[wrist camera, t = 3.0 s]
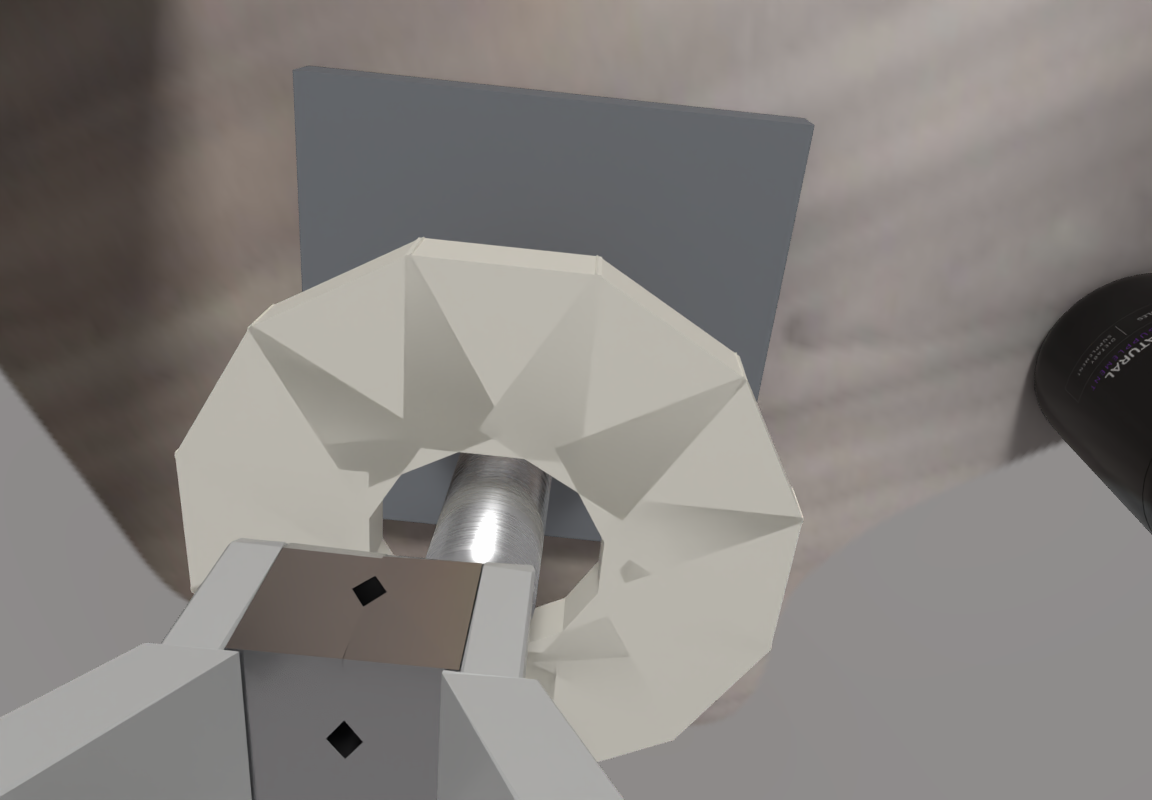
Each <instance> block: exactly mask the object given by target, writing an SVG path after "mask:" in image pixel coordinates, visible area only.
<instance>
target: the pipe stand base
mask: <svg viewBox="0 0 1152 800" xmlns="http://www.w3.org/2000/svg"><path fill="white" fill-rule="evenodd" d="M293 87H294V110H295V134H296V157H297V180H298V204H299V227H300V250H301V274H302V292H303V291H306V290H308V289H310V288H312V287H314V286H317V285H319V284H321V283H323V282H325V281H328V280H330V279H332V278H334V277H336V276H339V275H341V274H343V273H345V272H347V271H350V270H352V269H354V268H356V267H358V266H360V265H363V264H365V263H367V262H369V261H371V260H374V259H376V258H378V257H380V256H382V255H385V254H387V253H389V252H391V251H393V250H396V249H398V248H400V247H402V246H404V245H406V244H409V243H411V242H413V241H415V240H417V239H418V237H420V238H422V237H425V238H429V239H439V240H448V241H458V242H467V243H477V244H486V245H496V246H505V247H515V248H524V249H534V250H543V251H553V252H562V253H572V254H581V255H591V256H596V255H598V256H600V257H602V259H604V260H605V261H606V262H608V263H609V264H611V265H612V266H613V267H615V268H616V269H618V270H619V271H620V272H622V273H623V274H625V275H626V276H628V277H629V278H630V279H632V280H633V281H635V282H636V283H637V284H639V285H640V286H642V287H643V288H644V289H646V290H647V291H649V292H650V293H651V294H653V295H654V296H656V297H657V298H658V299H660V300H661V301H663V302H664V303H665V304H667V305H668V306H670V307H671V308H672V309H674V310H675V311H677V312H678V313H680V314H681V315H682V316H684V317H685V318H687V319H688V320H689V321H691V322H692V323H694V324H695V325H696V326H698V327H699V328H701V329H702V330H703V331H705V332H706V333H708V334H709V335H710V336H712V337H713V338H715V339H716V340H717V341H719V342H720V343H722V344H723V345H724V346H726V347H727V348H729V349H730V350H732V351H733V352H734V353H737V355H739V356H740V359H741V362H742V365H743V368H744V371H745V374H746V377H747V380H748V382H749V385H750V387H751V389H752V392H753V394H754V397H755V399H756V402H757V399H758V395H759V390H760V385H761V380H762V375H763V371H764V366H765V361H766V356H767V351H768V347H769V342H770V337H771V332H772V327H773V323H774V318H775V313H776V308H777V303H778V299H779V294H780V289H781V284H782V279H783V274H784V270H785V265H786V260H787V255H788V250H789V246H790V241H791V236H792V231H793V226H794V222H795V217H796V212H797V207H798V202H799V198H800V193H801V188H802V183H803V178H804V173H805V169H806V164H807V159H808V154H809V149H810V145H811V140H812V135H813V130H814V125H813V124H812V123H810V122H809V121H808V120H806V119H805V118H795V117H786V116H777V115H767V114H758V113H748V112H739V111H730V110H720V109H711V108H701V107H692V106H683V105H673V104H664V103H654V102H645V101H636V100H626V99H617V98H607V97H598V96H589V95H579V94H570V93H560V92H551V91H541V90H532V89H523V88H513V87H504V86H494V85H485V84H476V83H466V82H457V81H447V80H438V79H429V78H419V77H410V76H400V75H391V74H382V73H372V72H363V71H353V70H344V69H335V68H325V67H316V66H306V67H302V68H298V69H294V70H293ZM459 455H460V452H457V453H455V454H452V455H450V456H447V457H445V458H442V459H440V460H437V461H434V462H432V463H429V464H427V465H424V466H422V467H419V468H417V469H414V470H411V471H409V472H406V473H404V474H401V475H400V477H399V478H398V480H397V481H396V482H395V484H394V485H393V486H392V488H391V489H390V491H389V492H388V493H387V495H386V496H385V497H384V499H383V519H390V520H399V521H409V522H419V523H428V524H437V522H438V519H439V516H440V513H441V510H442V507H443V504H444V501H445V498H446V495H447V492H448V489H449V486H450V483H451V480H452V477H453V474H454V471H455V468H456V465H457V461H458V458H459ZM544 536H553V537H563V538H573V539H582V540H592V541H601V539H602V537H601V535H600V533H599V532H598V530H597V528H596V526H595V524H594V522H593V520H592V518H591V516H590V514H589V513H588V511H587V509H586V507H585V505H584V503H583V501H582V499H581V497H580V495H579V493H577V492H576V491H574V490H573V489H571V488H570V487H568V486H566V485H565V484H563V483H562V482H560V481H559V480H557V479H555V478H554V477H552V479H551V487H550V495H549V503H548V510H547V518H546V526H545V534H544Z"/></svg>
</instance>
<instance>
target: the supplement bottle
mask: <svg viewBox="0 0 1152 800" xmlns="http://www.w3.org/2000/svg"><path fill="white" fill-rule="evenodd" d="M1034 383H1035V392H1036V397H1037V400H1038V403H1039V406H1040V408H1041V411H1042V413H1043V414H1044V416H1045V417H1046V419H1047V420H1048V422H1049V423H1050V424H1051V425H1052V427H1053V428H1054V429H1055V430H1056V431H1057V432H1058V434H1059V435H1060V436H1061V437H1062V438H1063V439H1064V440H1065V442H1066V443H1067V444H1068V445H1069V446H1070V447H1071V448H1072V449H1073V450H1074V451H1075V452H1076V453H1077V454H1078V455H1079V457H1080V458H1081V459H1082V460H1083V461H1084V462H1085V463H1086V464H1087V465H1088V466H1089V467H1090V468H1091V469H1092V471H1093V472H1094V473H1095V474H1096V475H1097V476H1098V477H1099V478H1100V479H1101V480H1102V481H1103V482H1104V483H1105V484H1106V486H1108V488H1109V489H1110V490H1111V491H1112V492H1113V493H1114V494H1115V495H1116V496H1117V497H1118V498H1119V500H1120V501H1121V502H1122V503H1123V504H1124V505H1125V506H1126V507H1127V508H1128V509H1129V510H1130V511H1131V512H1132V514H1133V515H1135V517H1136V518H1137V519H1138V520H1139V521H1140V522H1141V523H1142V524H1143V525H1144V527H1145V528H1146V529H1147V530H1148V531H1149V532H1150V533H1151V534H1152V273H1146V274H1139V275H1134V276H1130V277H1126V278H1123V279H1120V280H1116V281H1114V282H1111V283H1109V284H1106V285H1104V286H1102V287H1100V288H1098V289H1096V290H1095V291H1093V292H1091V293H1090V294H1088V295H1086V296H1085V297H1083V298H1082V299H1081V300H1079V301H1078V302H1077V303H1076V304H1074V305H1073V306H1072V307H1071V308H1070V309H1069V310H1068V311H1067V312H1065V313H1064V314H1063V316H1062V317H1061V318H1060V319H1059V320H1058V321H1057V322H1056V324H1055V325H1054V326H1053V328H1052V329H1051V331H1050V332H1049V334H1048V335H1047V337H1046V339H1045V341H1044V343H1043V345H1042V347H1041V350H1040V352H1039V355H1038V359H1037V362H1036V368H1035V377H1034Z"/></svg>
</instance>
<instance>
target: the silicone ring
mask: <svg viewBox="0 0 1152 800" xmlns="http://www.w3.org/2000/svg"><path fill="white" fill-rule="evenodd" d="M247 329H248V331H247V332H246V334H245V336H244V337H243V339H242V341H241V343H240V344H239V346H238V348H237V349H236V351H235V353H234V355H233V356H232V358H231V360H230V361H229V363H228V365H227V367H226V368H225V370H224V372H223V373H222V375H221V377H220V379H219V380H218V382H217V384H216V386H215V387H214V389H213V391H212V392H211V394H210V396H209V398H208V399H207V401H206V403H205V404H204V406H203V408H202V410H201V411H200V413H199V415H198V416H197V418H196V420H195V422H194V423H193V425H192V427H191V428H190V430H189V432H188V434H187V435H186V437H185V439H184V440H183V442H182V444H181V446H180V447H179V448H178V449H177V451H176V452H175V456H174V457H175V458H176V466H177V474H178V483H179V491H180V499H181V508H182V516H183V524H184V533H185V541H186V549H187V558H188V566H189V574H190V583H191V588H190V589H191V591H192V593H194V594H195V593H196V591H197V590H198V588H199V587H200V585H201V584H202V582H203V581H204V580H205V578H206V577H207V575H208V574H209V572H210V571H211V569H212V568H213V566H214V565H215V563H216V562H217V561H218V559H219V558H220V556H221V555H222V553H223V552H224V550H225V549H226V547H227V546H228V545H229V544H230V543H231V542H232V541H235V540H237V539H239V538H249V539H259V540H269V541H279V542H285V543H288V544H289V543H298V544H307V545H315V546H324V547H332V548H341V549H349V550H358V551H366V552H375V553H383V554H388V555H393V553H392V552H391V550H390V548H389V547H388V545H387V544H386V542H385V541H384V539H383V499H384V497H385V496H386V495H387V493H388V492H389V491H390V489H391V488H392V486H393V485H394V484H395V482H396V481H397V480H398V478H399V477H400V475H401V474H404V473H406V472H409V471H411V470H414V469H417V468H419V467H422V466H424V465H427V464H429V463H432V462H434V461H437V460H440V459H442V458H445V457H447V456H450V455H452V454H455V453H457V452H463V453H472V454H482V455H492V456H501V457H511V458H520V459H525V460H527V461H528V462H530V463H532V464H533V465H535V466H536V467H538V468H540V469H541V470H543V471H544V472H546V473H547V474H549V475H551V476H552V477H554V478H555V479H557V480H559V481H560V482H562V483H563V484H565V485H566V486H568V487H570V488H571V489H573V490H574V491H576V492H577V493H579V495H580V497H581V499H582V501H583V503H584V505H585V507H586V509H587V511H588V513H589V514H590V516H591V518H592V520H593V522H594V524H595V526H596V528H597V530H598V532H599V533H600V535H601V537H602V539H601V546H600V554H599V561H598V562H597V563H596V564H595V565H594V566H593V567H592V568H591V570H590V571H589V572H588V573H587V574H586V575H585V576H584V577H583V578H582V580H581V581H580V582H579V583H578V584H577V585H576V586H575V587H574V588H573V590H572V591H571V592H570V593H569V594H568V595H567V596H566V597H565V598H563V599H560V600H557V601H554V602H551V603H548V604H545V605H542V606H539V607H536V608H535V610H534V614H533V617H532V619H531V622H530V632H529V643H528V654H527V664H526V675H525V678H526V679H536V680H538V681H539V682H540V683H541V685H542V686H543V688H544V689H545V690H546V692H547V693H548V695H549V696H550V697H551V699H552V700H553V701H554V703H555V704H556V706H557V707H558V708H559V710H560V711H561V713H562V714H563V715H564V717H565V718H566V719H567V721H568V722H569V724H570V725H571V726H572V728H573V729H574V730H575V732H576V733H577V735H578V736H579V737H580V739H581V740H582V742H583V743H584V744H585V746H586V747H587V748H588V750H589V751H590V753H591V754H592V755H593V757H594V758H595V759H596V761H597V762H601V761H604V760H607V759H611V758H614V757H617V756H621V755H624V754H628V753H631V752H635V751H638V750H642V749H645V748H648V747H651V746H655V745H658V744H662V743H665V742H669V741H673V740H675V739H676V737H677V736H678V735H679V734H681V733H682V732H683V731H684V730H685V729H686V728H687V727H688V726H689V725H690V724H691V723H692V722H693V721H695V720H696V719H697V718H698V717H699V716H700V715H701V714H702V713H703V712H704V711H705V710H706V709H707V708H709V707H710V706H711V705H712V704H713V703H714V702H715V701H716V700H717V699H718V698H719V697H720V696H721V695H723V694H724V693H725V692H726V691H727V690H728V689H729V688H730V687H731V686H732V685H733V684H734V683H735V682H737V681H738V680H739V679H740V678H741V677H742V676H743V675H744V674H745V673H746V672H747V671H748V670H749V669H751V668H752V667H753V666H754V665H755V664H756V663H757V662H758V661H759V660H760V659H761V658H762V657H763V656H765V655H766V654H767V653H768V652H770V650H771V649H772V646H771V645H772V641H773V637H774V633H775V629H776V625H777V621H778V617H779V613H780V609H781V605H782V601H783V597H784V593H785V589H786V585H787V581H788V577H789V573H790V569H791V565H792V561H793V557H794V553H795V549H796V545H797V541H798V537H799V533H800V529H801V525H802V523H803V515H802V512H801V510H800V507H799V504H798V501H797V498H796V495H795V492H794V490H793V487H791V486H790V483H789V481H788V478H787V476H786V473H785V471H784V468H783V466H782V463H781V461H780V458H779V456H778V454H777V451H776V449H775V446H774V444H773V441H772V439H771V436H770V434H769V431H768V429H767V426H766V424H765V422H764V419H763V417H762V414H761V412H760V409H759V407H758V404H757V402H756V399H755V397H754V394H753V392H752V389H751V387H750V385H749V382H748V380H747V377H746V374H745V371H744V368H743V365H742V362H741V359H740V356H739V355H737V353H734V352H733V351H732V350H730V349H729V348H727V347H726V346H724V345H723V344H722V343H720V342H719V341H717V340H716V339H715V338H713V337H712V336H710V335H709V334H708V333H706V332H705V331H703V330H702V329H701V328H699V327H698V326H696V325H695V324H694V323H692V322H691V321H689V320H688V319H687V318H685V317H684V316H682V315H681V314H680V313H678V312H677V311H675V310H674V309H672V308H671V307H670V306H668V305H667V304H665V303H664V302H663V301H661V300H660V299H658V298H657V297H656V296H654V295H653V294H651V293H650V292H649V291H647V290H646V289H644V288H643V287H642V286H640V285H639V284H637V283H636V282H635V281H633V280H632V279H630V278H629V277H628V276H626V275H625V274H623V273H622V272H620V271H619V270H618V269H616V268H615V267H613V266H612V265H611V264H609V263H608V262H606V261H605V260H604V259H602V257H600V256H598V255H596V256H591V255H581V254H572V253H562V252H553V251H543V250H534V249H524V248H515V247H505V246H496V245H486V244H477V243H467V242H458V241H448V240H439V239H429V238H425V237H422V238H420V237H418V239H417V240H415V241H413V242H411V243H409V244H406V245H404V246H402V247H400V248H398V249H396V250H393V251H391V252H389V253H387V254H385V255H382V256H380V257H378V258H376V259H374V260H371V261H369V262H367V263H365V264H363V265H360V266H358V267H356V268H354V269H352V270H350V271H347V272H345V273H343V274H341V275H339V276H336V277H334V278H332V279H330V280H328V281H325V282H323V283H321V284H319V285H317V286H314V287H312V288H310V289H308V290H306V291H303V292H301V293H299V294H297V295H295V296H293V297H290V298H288V299H286V300H284V301H282V302H279V303H277V304H272V305H271V306H270V307H269V308H268V309H267V310H266V311H265V312H264V313H263V314H262V315H261V316H259V317H258V318H257V319H256V320H255V321H254V322H253V323H252V324H251V325H250V326H249V327H248V328H247ZM393 556H394V555H393Z"/></svg>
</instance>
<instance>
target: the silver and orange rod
mask: <svg viewBox="0 0 1152 800" xmlns="http://www.w3.org/2000/svg"><path fill="white" fill-rule="evenodd" d="M551 479H552V476H551V475H549V474H547V473H546V472H544V471H543V470H541V469H540V468H538V467H536V466H535V465H533V464H532V463H530V462H528V461H527V460H525V459H520V458H511V457H501V456H492V455H482V454H472V453H463V452H460V455H459V458H458V461H457V465H456V468H455V471H454V474H453V477H452V480H451V483H450V486H449V489H448V492H447V495H446V498H445V501H444V504H443V507H442V510H441V513H440V516H439V519H438V522H437V525H436V528H435V531H434V534H433V537H432V540H431V543H430V546H429V549H428V552H427V555H426V558H427V559H439V560H450V561H461V562H473V563H483V564H485V563H486V562H492V563H507V564H523V565H533V567H534V569H535V579H534V590H533V600H532V611H531V619H532V617H533V614H534V610H535V604H536V596H537V588H538V580H539V573H540V565H541V557H542V549H543V542H544V534H545V526H546V518H547V510H548V503H549V495H550V487H551Z"/></svg>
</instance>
